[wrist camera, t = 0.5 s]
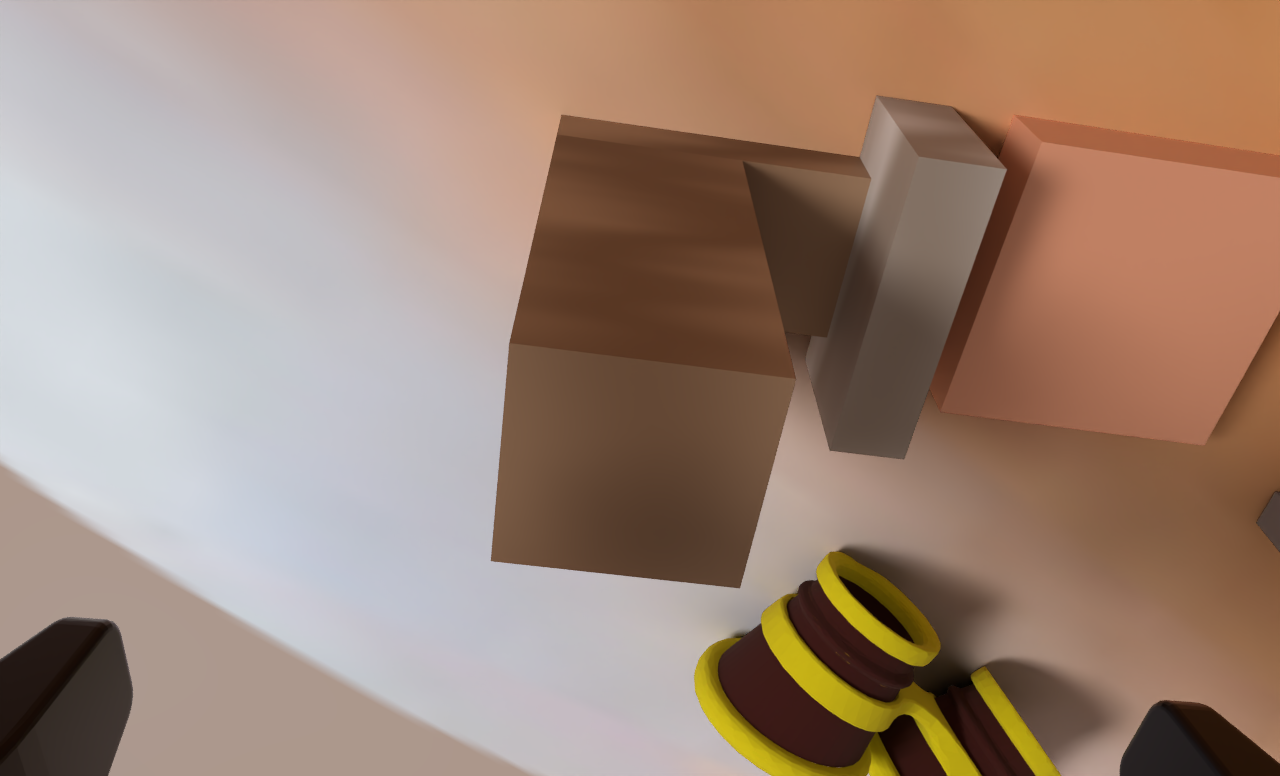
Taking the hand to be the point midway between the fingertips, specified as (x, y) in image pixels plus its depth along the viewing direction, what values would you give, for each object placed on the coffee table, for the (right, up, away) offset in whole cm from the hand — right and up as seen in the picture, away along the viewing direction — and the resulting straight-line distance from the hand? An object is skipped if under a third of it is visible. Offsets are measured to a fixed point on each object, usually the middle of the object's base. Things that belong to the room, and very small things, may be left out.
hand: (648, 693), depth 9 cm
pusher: (+2, +6, +12) cm, 14 cm away
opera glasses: (+6, -5, +19) cm, 21 cm away
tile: (+10, +5, +13) cm, 17 cm away
